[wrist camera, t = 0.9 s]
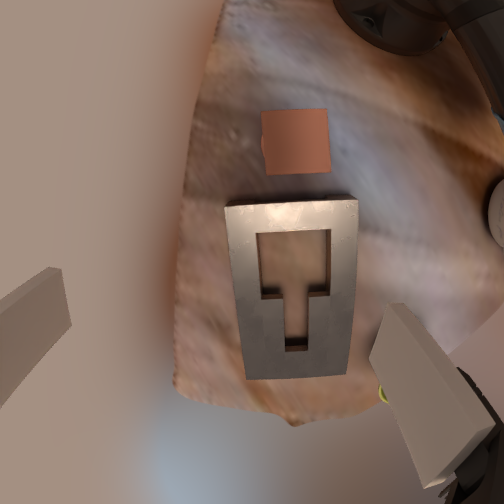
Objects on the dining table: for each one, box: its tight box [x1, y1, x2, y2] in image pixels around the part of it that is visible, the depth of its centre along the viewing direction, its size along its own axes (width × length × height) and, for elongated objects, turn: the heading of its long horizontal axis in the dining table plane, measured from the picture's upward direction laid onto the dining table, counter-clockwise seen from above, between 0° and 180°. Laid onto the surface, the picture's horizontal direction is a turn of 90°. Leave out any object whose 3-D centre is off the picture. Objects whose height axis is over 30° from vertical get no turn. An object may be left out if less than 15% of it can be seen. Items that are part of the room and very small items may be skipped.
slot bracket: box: [224, 194, 358, 380], centre depth 35 cm, size 14×24×3 cm, turn 5°
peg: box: [261, 109, 331, 175], centre depth 24 cm, size 6×6×15 cm
